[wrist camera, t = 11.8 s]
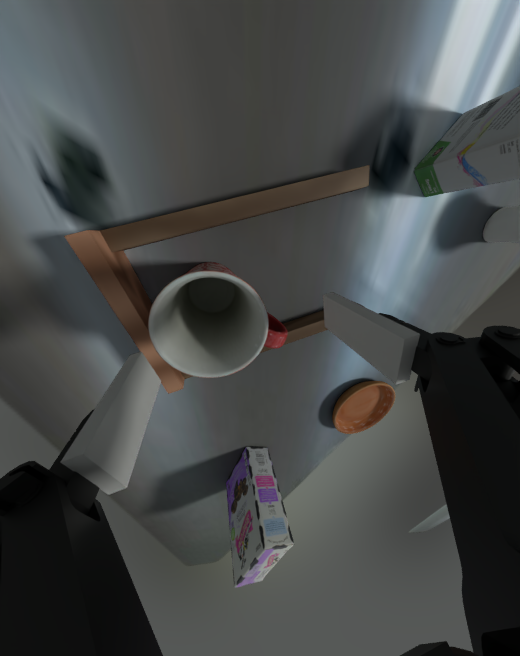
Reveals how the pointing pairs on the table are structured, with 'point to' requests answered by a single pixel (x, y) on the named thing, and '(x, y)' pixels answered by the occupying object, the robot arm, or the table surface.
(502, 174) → the ink box
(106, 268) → the guide channel
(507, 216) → the cup
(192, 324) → the mug
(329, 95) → the table surface
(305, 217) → the table surface
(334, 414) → the saucer
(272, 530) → the candy box
